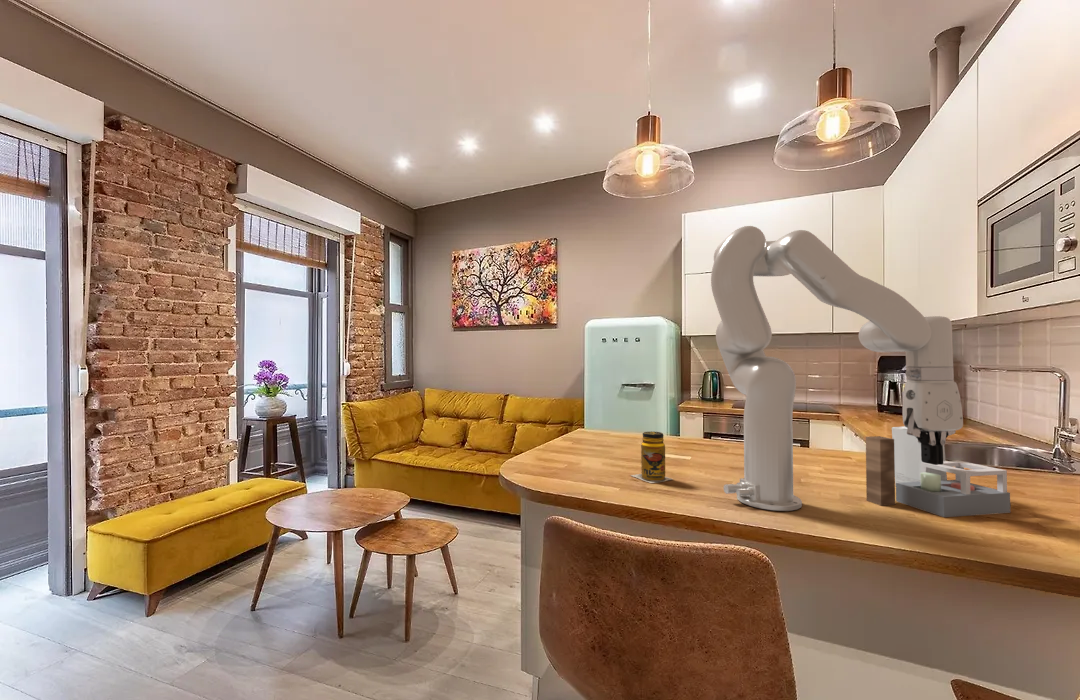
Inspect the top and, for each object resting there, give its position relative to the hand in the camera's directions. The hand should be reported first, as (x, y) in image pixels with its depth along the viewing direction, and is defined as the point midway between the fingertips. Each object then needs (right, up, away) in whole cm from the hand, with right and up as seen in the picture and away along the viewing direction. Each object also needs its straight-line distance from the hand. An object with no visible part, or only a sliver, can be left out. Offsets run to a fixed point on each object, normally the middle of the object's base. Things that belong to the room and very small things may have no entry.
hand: (932, 463), depth 94 cm
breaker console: (+5, -9, +1) cm, 10 cm away
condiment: (-53, -10, +24) cm, 59 cm away
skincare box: (+8, -10, +12) cm, 18 cm away
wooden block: (-8, -9, +4) cm, 13 cm away
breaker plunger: (+8, -8, +1) cm, 11 cm away
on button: (0, -6, 0) cm, 6 cm away
